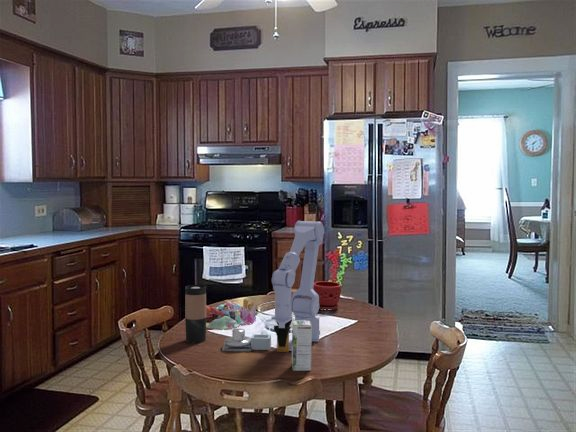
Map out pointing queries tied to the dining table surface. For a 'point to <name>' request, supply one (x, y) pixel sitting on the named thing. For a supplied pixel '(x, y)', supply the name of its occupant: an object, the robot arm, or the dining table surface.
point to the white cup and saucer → (237, 342)
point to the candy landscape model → (230, 315)
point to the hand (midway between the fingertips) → (283, 343)
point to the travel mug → (195, 313)
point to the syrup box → (301, 345)
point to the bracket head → (261, 341)
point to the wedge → (283, 349)
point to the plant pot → (328, 294)
